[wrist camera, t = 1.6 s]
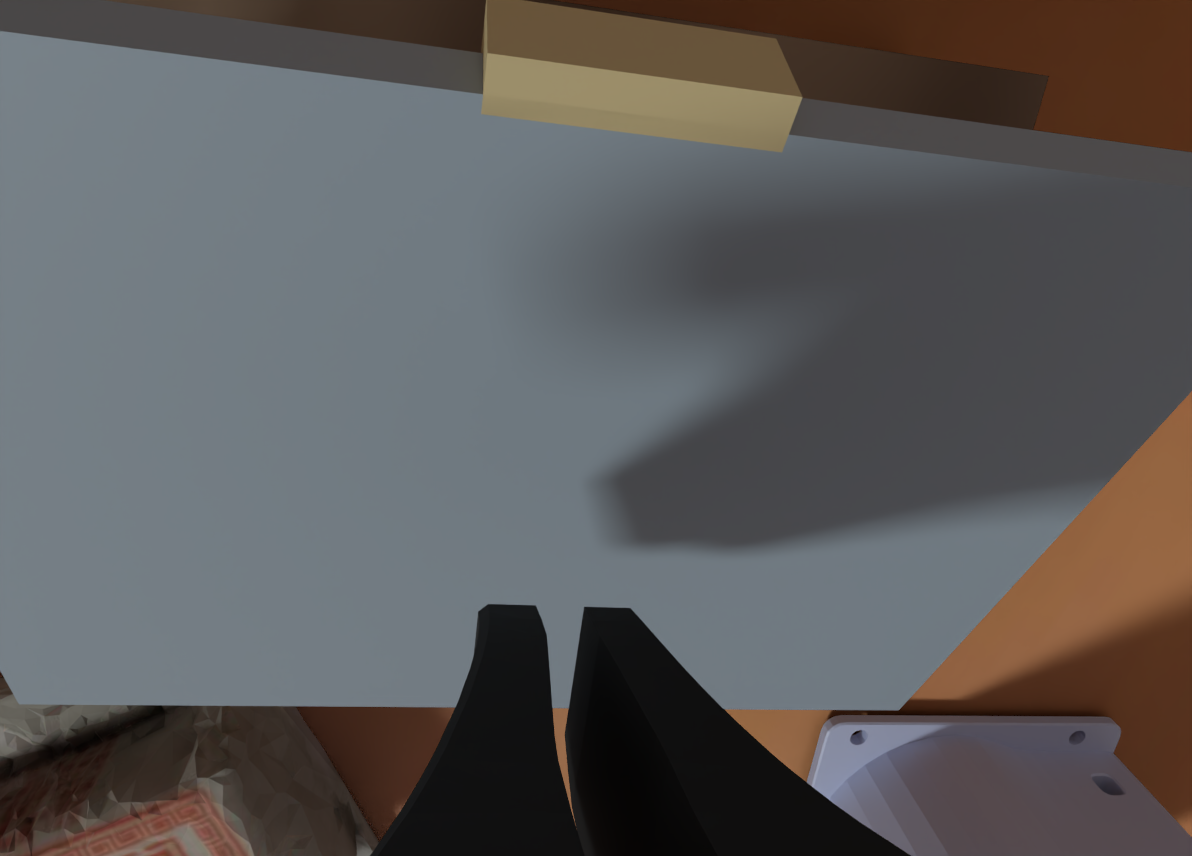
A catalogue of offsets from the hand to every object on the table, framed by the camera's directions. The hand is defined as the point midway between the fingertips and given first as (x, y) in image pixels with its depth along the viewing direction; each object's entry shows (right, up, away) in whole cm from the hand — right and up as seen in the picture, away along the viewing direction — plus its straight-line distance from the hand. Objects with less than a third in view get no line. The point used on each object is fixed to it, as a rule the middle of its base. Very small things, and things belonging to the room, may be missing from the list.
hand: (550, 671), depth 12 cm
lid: (0, +3, +2) cm, 4 cm away
